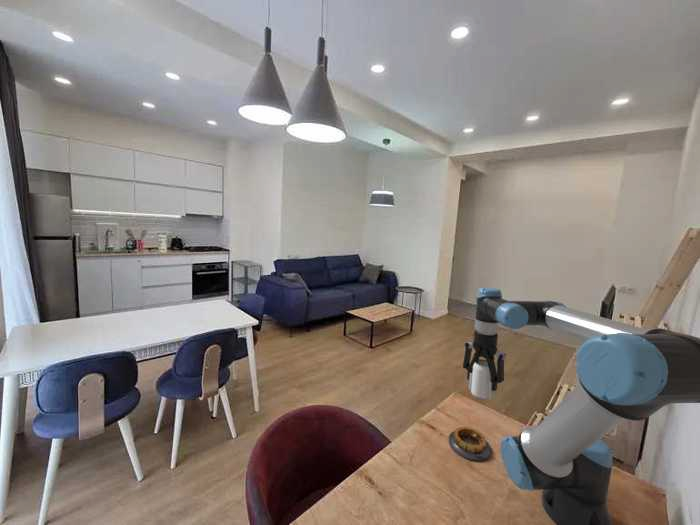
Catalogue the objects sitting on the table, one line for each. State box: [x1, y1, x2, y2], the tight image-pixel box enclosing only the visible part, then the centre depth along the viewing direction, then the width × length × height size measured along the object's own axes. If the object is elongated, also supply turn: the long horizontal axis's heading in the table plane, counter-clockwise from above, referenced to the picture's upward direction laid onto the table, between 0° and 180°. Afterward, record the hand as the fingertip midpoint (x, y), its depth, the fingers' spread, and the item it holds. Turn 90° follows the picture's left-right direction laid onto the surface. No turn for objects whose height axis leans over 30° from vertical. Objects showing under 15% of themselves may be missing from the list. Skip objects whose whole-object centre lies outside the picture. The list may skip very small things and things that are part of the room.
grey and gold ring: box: [448, 426, 492, 462], centre depth 104 cm, size 14×14×4 cm
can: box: [470, 358, 492, 400], centre depth 104 cm, size 6×6×12 cm
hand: (480, 393), depth 104 cm, fingers closed on can, 6 cm apart
